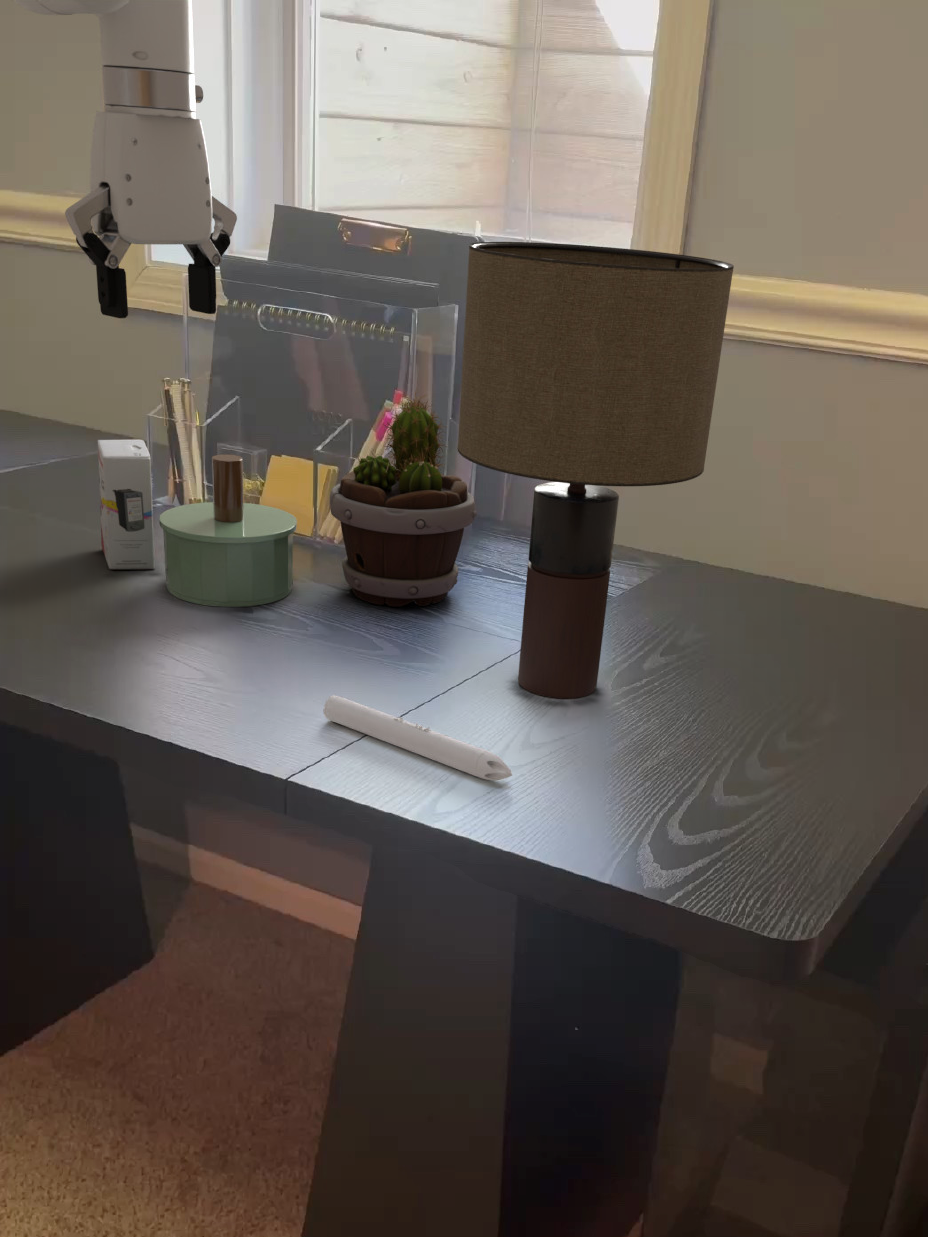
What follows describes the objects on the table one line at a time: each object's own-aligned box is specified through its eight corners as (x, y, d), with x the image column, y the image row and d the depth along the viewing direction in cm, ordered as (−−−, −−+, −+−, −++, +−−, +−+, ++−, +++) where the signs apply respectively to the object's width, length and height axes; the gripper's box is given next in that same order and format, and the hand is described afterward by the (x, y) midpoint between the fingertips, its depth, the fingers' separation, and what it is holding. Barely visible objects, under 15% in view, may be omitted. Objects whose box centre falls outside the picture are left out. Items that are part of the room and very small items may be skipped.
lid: (168, 551, 123) (165, 474, 120) (152, 514, 134) (148, 442, 131) (309, 547, 127) (310, 473, 124) (282, 512, 139) (282, 442, 135)
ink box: (101, 548, 143) (93, 437, 137) (148, 547, 144) (142, 438, 139) (108, 571, 135) (100, 456, 130) (157, 570, 137) (152, 456, 131)
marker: (519, 783, 97) (521, 754, 96) (502, 792, 96) (505, 763, 94) (340, 715, 106) (340, 688, 105) (322, 722, 105) (323, 695, 103)
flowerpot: (441, 625, 127) (453, 414, 118) (301, 599, 132) (302, 393, 122) (491, 587, 140) (506, 393, 130) (361, 564, 144) (366, 374, 134)
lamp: (715, 693, 116) (785, 267, 100) (567, 749, 103) (619, 269, 86) (549, 631, 128) (586, 242, 112) (397, 673, 115) (414, 240, 99)
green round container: (175, 609, 126) (172, 543, 123) (160, 571, 137) (156, 509, 134) (303, 604, 130) (303, 540, 127) (278, 567, 141) (278, 507, 138)
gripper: (203, 101, 117) (209, 305, 126) (33, 86, 106) (52, 312, 114) (258, 105, 113) (260, 315, 121) (87, 89, 101) (102, 323, 110)
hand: (159, 313), depth 118 cm, fingers open, 9 cm apart
